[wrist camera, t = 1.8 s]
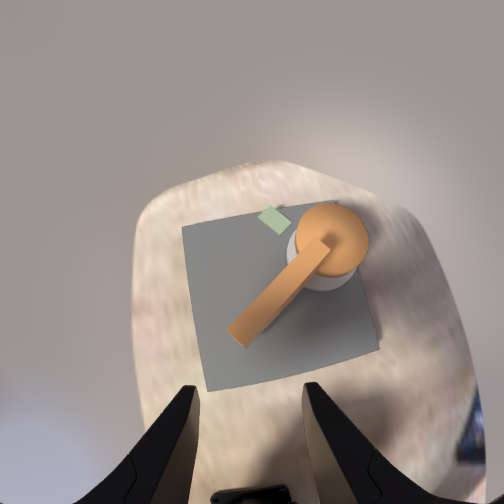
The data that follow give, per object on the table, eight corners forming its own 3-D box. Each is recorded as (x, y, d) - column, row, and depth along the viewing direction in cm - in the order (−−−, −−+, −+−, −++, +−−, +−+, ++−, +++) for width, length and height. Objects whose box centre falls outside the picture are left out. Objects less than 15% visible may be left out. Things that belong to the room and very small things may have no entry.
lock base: (210, 390, 20) (201, 396, 16) (184, 230, 25) (174, 207, 22) (372, 350, 21) (394, 346, 17) (327, 204, 26) (338, 180, 23)
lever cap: (319, 208, 23) (334, 169, 18) (368, 249, 21) (396, 217, 16) (212, 317, 19) (198, 302, 14) (266, 368, 18) (272, 371, 13)
